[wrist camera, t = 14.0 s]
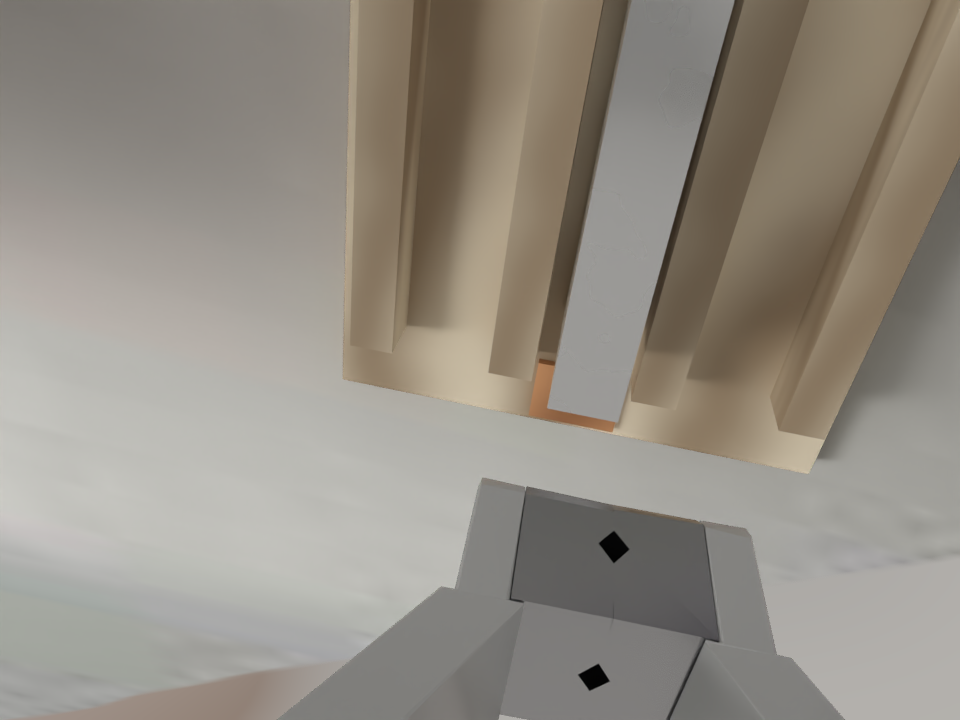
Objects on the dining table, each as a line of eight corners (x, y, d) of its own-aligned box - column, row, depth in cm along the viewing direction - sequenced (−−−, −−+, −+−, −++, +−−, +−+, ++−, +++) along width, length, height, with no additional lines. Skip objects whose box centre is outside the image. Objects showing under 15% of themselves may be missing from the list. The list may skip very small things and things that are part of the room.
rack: (351, 365, 30) (324, 408, 28) (370, -382, 18) (327, -425, 16) (803, 457, 29) (819, 511, 26) (1152, -294, 17) (1242, -326, 14)
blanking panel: (647, -92, 19) (649, -86, 14) (724, -82, 19) (754, -71, 14) (564, 308, 26) (547, 408, 21) (622, 319, 26) (618, 422, 21)
